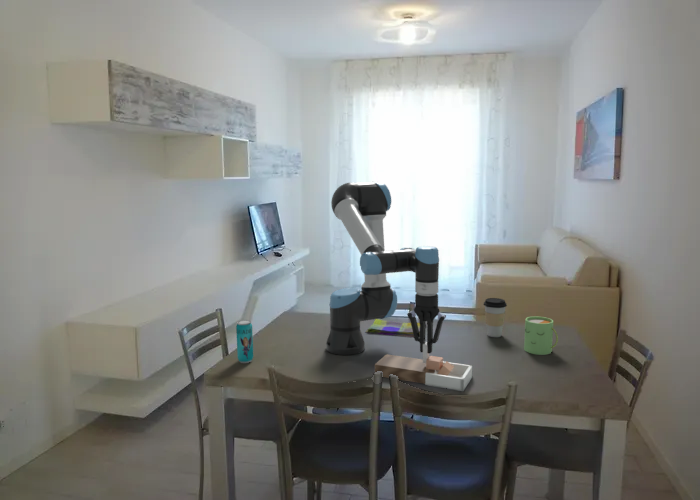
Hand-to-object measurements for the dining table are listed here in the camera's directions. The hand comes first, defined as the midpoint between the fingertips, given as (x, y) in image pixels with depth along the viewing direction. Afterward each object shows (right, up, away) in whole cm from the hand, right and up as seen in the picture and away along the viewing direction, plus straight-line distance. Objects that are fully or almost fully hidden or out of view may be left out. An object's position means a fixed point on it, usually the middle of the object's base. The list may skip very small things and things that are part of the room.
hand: (426, 361), depth 186 cm
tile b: (+5, -2, -2) cm, 6 cm away
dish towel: (-5, +2, +55) cm, 55 cm away
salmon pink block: (+3, -2, -1) cm, 3 cm away
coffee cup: (+35, +2, +46) cm, 57 cm away
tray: (+7, -6, -2) cm, 10 cm away
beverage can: (-64, -4, +18) cm, 67 cm away
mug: (+47, -1, +26) cm, 54 cm away
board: (-7, -5, +4) cm, 9 cm away
